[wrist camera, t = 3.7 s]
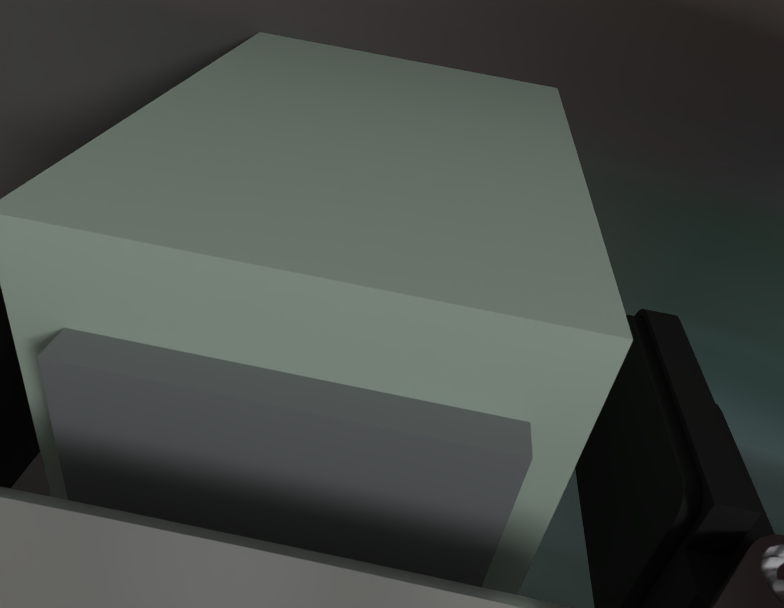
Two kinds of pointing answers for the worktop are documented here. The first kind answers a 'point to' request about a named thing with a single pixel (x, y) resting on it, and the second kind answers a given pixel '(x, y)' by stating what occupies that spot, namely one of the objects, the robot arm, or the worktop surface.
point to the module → (321, 310)
